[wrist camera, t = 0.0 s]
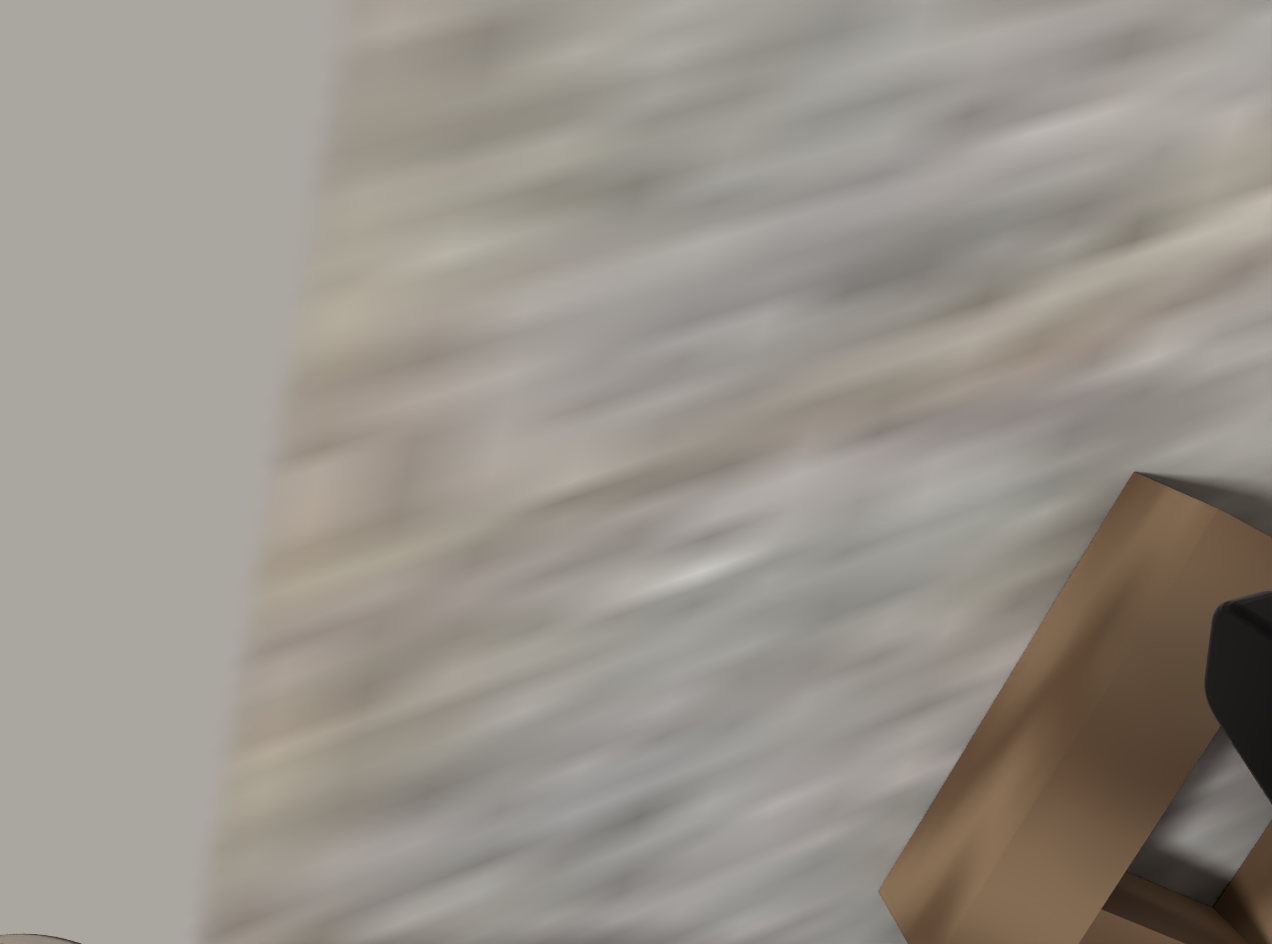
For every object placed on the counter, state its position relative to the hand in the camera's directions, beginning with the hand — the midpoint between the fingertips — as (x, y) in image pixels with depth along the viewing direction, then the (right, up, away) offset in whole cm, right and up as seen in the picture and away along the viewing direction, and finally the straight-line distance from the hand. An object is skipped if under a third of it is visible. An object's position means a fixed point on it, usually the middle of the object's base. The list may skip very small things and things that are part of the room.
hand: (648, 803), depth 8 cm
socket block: (+14, -5, +20) cm, 25 cm away
